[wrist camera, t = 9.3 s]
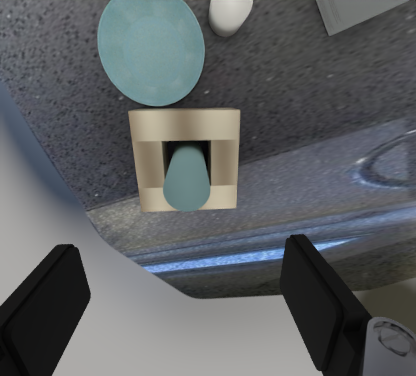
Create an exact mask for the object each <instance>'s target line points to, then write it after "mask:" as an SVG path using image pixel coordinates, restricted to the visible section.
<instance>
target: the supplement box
mask: <svg viewBox="0 0 416 376" xmlns="http://www.w3.org/2000/svg"><path fill="white" fill-rule="evenodd" d="M407 1H410V0H316V2H317V5H318V8H319V11H320V13H321V16H322V19H323V22H324V24H325V28H326V30H327V32H328V35H329V36H331V35H334V34H336V33H338V32H341V31H343V30H345V29H347V28H350V27H352V26H354V25H356V24H359V23H361V22H363V21H365V20H367V19H370V18H372V17H374V16H376V15H378V14H381V13H383V12H385V11H387V10H390V9H392V8H394V7H396V6H398V5H401V4H403V3H405V2H407Z"/></svg>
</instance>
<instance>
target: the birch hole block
mask: <svg viewBox="0 0 416 376" xmlns="http://www.w3.org/2000/svg"><path fill="white" fill-rule="evenodd" d="M128 114H129V121H130V129H131V136H132V144H133V151H134V159H135V166H136V174H137V181H138V188H139V196H140V203H141V211H142V212H152V211H178V210H177V209H175V208H173V207H172V206H170V205H169V204H168V203H167V201H166V200H165V197H164V195H163V185H164V181H165V178H166V175H167V172H168V169H169V157H168V144H167V141H187V140H208V171H207V174H208V179H209V183H210V196H209V199H208V200H207V202H206V203H205V204H204V205H203V206H202V207H201V208H199V209H197V210H203V209H228V208H236V198H237V175H238V152H239V129H240V110H239V109H235V108H155V109H136V110H131V111H128Z"/></svg>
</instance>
